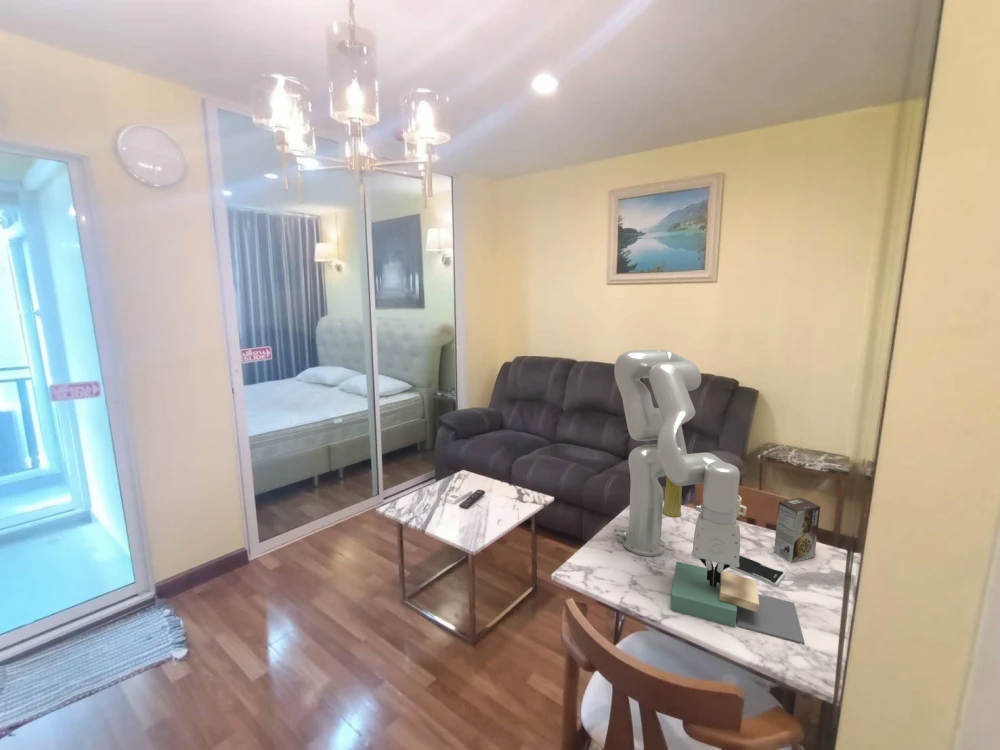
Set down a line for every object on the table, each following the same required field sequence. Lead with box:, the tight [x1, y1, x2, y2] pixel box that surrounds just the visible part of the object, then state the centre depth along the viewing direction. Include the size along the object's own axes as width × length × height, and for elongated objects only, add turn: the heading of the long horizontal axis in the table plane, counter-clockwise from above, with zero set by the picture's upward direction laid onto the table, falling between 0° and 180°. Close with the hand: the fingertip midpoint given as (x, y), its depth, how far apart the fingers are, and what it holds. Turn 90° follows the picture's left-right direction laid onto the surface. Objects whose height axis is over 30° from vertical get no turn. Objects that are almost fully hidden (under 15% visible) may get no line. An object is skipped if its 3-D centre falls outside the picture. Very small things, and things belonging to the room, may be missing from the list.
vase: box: [662, 476, 683, 518], centre depth 160 cm, size 6×6×14 cm
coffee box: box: [773, 497, 821, 563], centre depth 134 cm, size 9×6×16 cm
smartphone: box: [727, 555, 786, 587], centre depth 128 cm, size 8×1×15 cm
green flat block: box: [670, 561, 737, 628], centre depth 115 cm, size 14×16×4 cm
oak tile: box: [719, 570, 759, 612], centre depth 110 cm, size 8×10×2 cm
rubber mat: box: [736, 593, 806, 645], centre depth 109 cm, size 13×15×1 cm
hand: (713, 583), depth 113 cm, fingers closed
